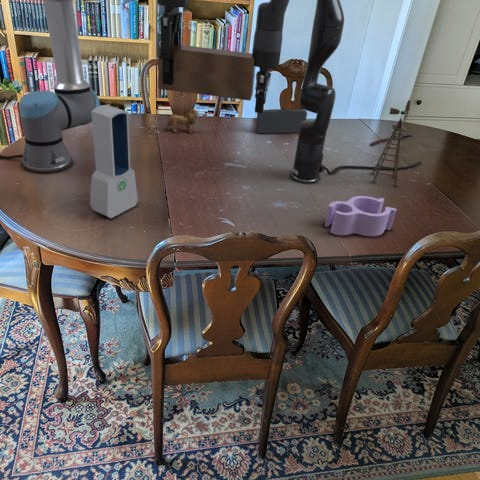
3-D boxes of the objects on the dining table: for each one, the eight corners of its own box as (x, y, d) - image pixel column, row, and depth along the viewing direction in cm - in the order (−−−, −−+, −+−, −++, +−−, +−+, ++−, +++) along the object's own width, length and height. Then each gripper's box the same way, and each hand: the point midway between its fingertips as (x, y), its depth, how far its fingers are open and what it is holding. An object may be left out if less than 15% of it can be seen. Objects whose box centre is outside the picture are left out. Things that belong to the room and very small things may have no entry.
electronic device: (108, 220, 133) (101, 117, 116) (89, 211, 136) (79, 109, 119) (138, 204, 142) (135, 106, 125) (120, 196, 145) (115, 100, 129)
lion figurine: (196, 128, 202) (197, 107, 197) (199, 132, 198) (200, 111, 193) (162, 129, 197) (162, 108, 192) (165, 133, 193) (165, 112, 188)
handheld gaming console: (301, 130, 212) (305, 108, 207) (304, 132, 210) (308, 110, 205) (254, 131, 205) (257, 109, 200) (256, 134, 203) (259, 111, 197)
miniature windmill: (395, 186, 170) (420, 105, 154) (372, 182, 171) (394, 101, 155) (394, 176, 177) (417, 97, 161) (371, 173, 178) (392, 94, 162)
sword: (408, 133, 222) (409, 131, 221) (413, 135, 220) (414, 133, 219) (365, 145, 206) (365, 142, 205) (370, 147, 204) (371, 145, 203)
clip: (337, 240, 135) (342, 219, 131) (318, 218, 145) (322, 198, 141) (395, 233, 141) (402, 213, 137) (373, 213, 151) (378, 194, 147)
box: (158, 88, 130) (157, 46, 124) (164, 83, 135) (164, 42, 129) (250, 100, 128) (254, 58, 122) (252, 94, 133) (256, 54, 127)
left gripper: (177, -7, 110) (175, 91, 123) (194, -13, 126) (191, 74, 139) (146, -11, 111) (147, 88, 123) (167, -16, 127) (166, 71, 139)
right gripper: (279, 54, 117) (271, 117, 126) (282, 44, 129) (274, 102, 138) (250, 50, 117) (243, 113, 126) (255, 40, 129) (249, 99, 138)
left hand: (170, 80), depth 131 cm, fingers closed on box, 6 cm apart
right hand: (260, 107), depth 132 cm, fingers open, 8 cm apart
